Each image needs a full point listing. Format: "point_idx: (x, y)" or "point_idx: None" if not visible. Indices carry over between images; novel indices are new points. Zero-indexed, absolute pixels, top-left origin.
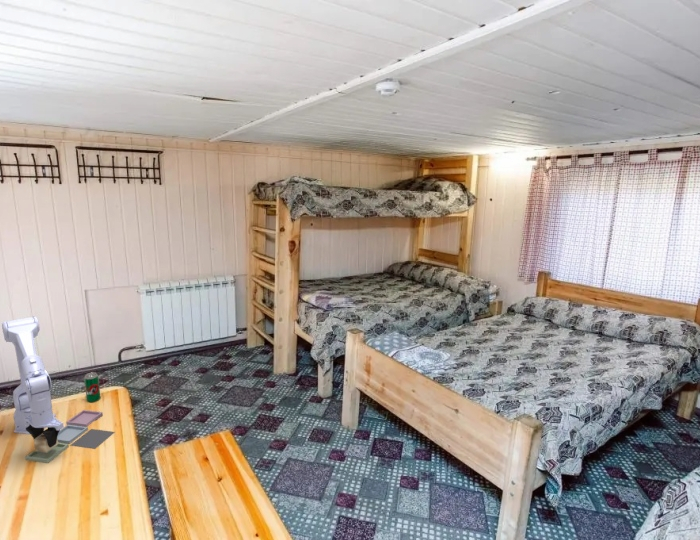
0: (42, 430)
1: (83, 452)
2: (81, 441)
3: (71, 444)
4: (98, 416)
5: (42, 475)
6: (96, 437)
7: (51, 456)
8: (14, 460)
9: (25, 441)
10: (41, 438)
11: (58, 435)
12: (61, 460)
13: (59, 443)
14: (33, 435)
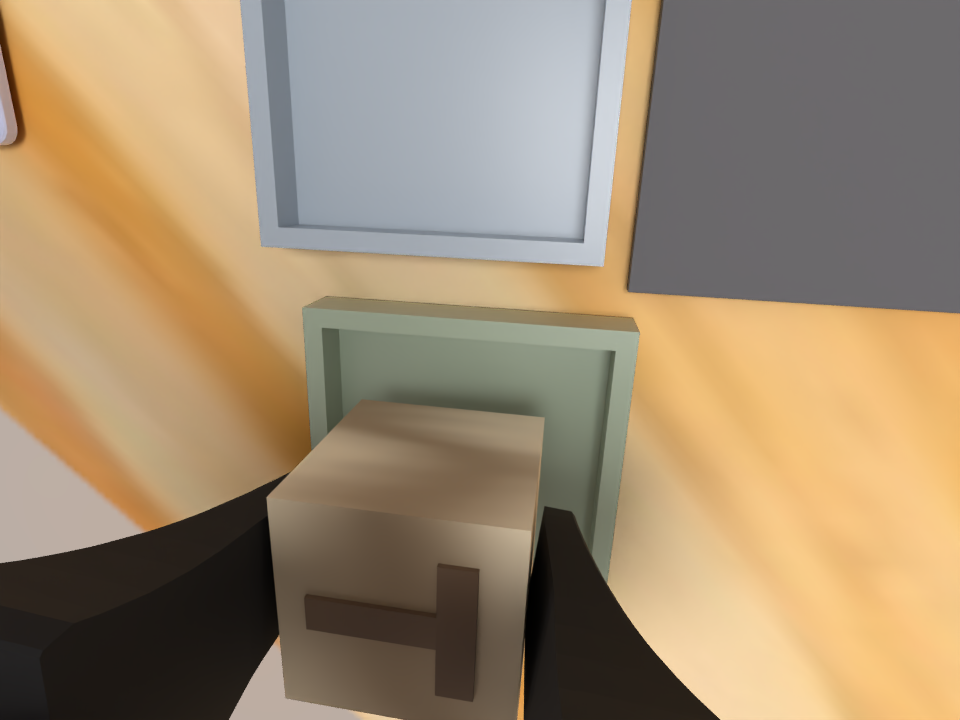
0: (229, 568)
1: (902, 381)
2: (742, 183)
3: (637, 270)
4: None
5: None
6: (945, 31)
7: (597, 563)
8: None
9: (39, 266)
10: (388, 680)
11: (298, 104)
12: (705, 529)
13: (499, 330)
14: (223, 711)
